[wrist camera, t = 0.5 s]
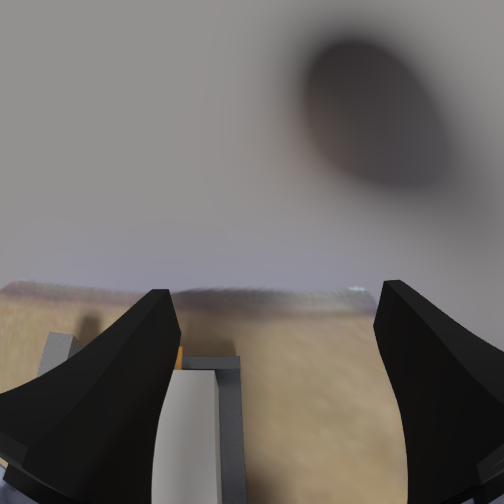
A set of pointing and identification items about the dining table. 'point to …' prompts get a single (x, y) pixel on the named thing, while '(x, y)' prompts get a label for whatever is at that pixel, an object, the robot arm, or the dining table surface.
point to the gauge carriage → (188, 440)
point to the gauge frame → (229, 407)
